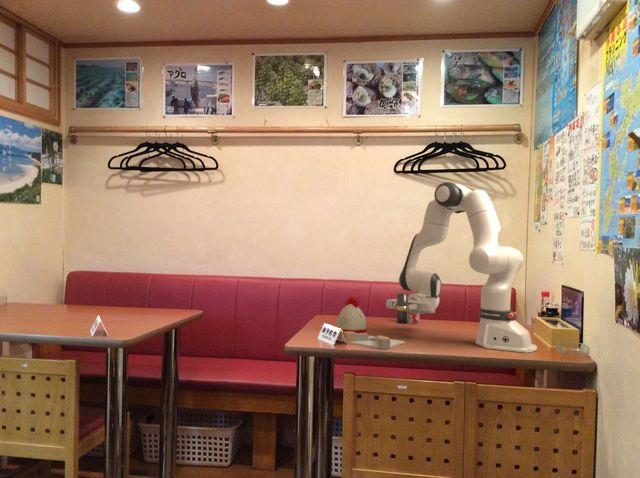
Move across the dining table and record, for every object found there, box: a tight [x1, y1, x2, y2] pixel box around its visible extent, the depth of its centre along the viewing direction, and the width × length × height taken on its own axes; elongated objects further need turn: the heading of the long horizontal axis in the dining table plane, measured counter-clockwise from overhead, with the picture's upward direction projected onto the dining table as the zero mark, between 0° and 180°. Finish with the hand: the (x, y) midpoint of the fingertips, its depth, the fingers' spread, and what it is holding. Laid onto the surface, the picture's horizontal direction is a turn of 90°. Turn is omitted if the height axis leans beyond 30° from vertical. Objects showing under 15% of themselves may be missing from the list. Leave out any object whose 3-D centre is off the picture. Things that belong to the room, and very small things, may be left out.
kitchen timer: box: [335, 296, 368, 333], centre depth 221 cm, size 14×14×15 cm
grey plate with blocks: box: [343, 331, 405, 350], centre depth 197 cm, size 24×17×4 cm
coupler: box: [396, 292, 409, 325], centre depth 205 cm, size 5×5×12 cm
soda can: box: [407, 311, 421, 325], centre depth 246 cm, size 7×7×12 cm
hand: (401, 306), depth 204 cm, fingers closed on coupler, 5 cm apart
